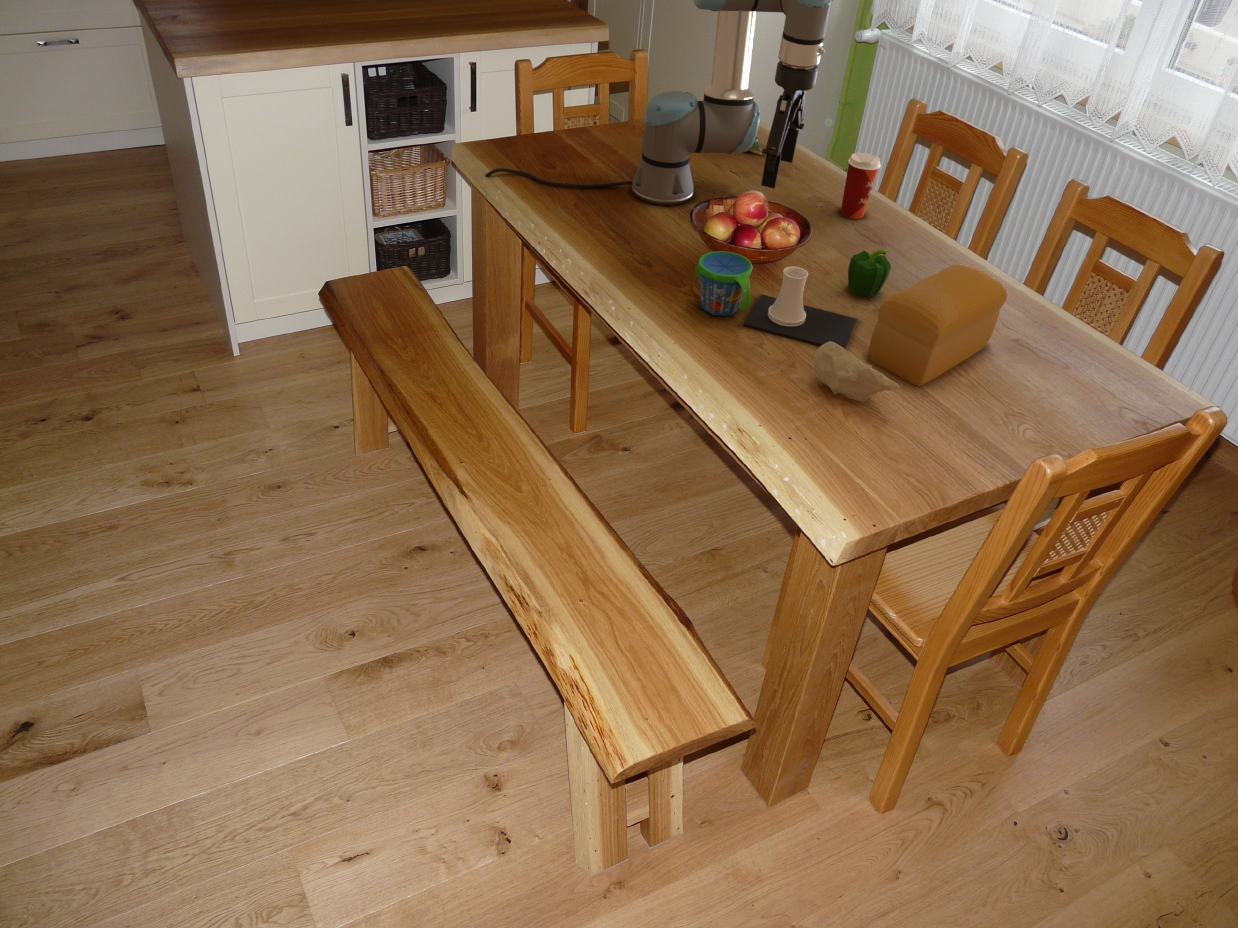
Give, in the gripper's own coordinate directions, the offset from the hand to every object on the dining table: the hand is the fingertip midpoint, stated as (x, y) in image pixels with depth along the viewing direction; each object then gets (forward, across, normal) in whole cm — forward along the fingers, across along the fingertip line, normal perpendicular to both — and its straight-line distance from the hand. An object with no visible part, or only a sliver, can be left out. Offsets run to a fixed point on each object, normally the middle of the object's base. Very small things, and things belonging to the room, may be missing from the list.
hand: (777, 173), depth 185 cm
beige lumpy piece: (+22, -34, -28) cm, 49 cm away
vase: (+22, -15, -10) cm, 29 cm away
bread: (+23, -13, -38) cm, 46 cm away
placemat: (+23, -15, -13) cm, 30 cm away
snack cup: (+23, -17, +3) cm, 29 cm away
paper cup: (+24, +42, -12) cm, 50 cm away
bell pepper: (+23, +4, -22) cm, 32 cm away
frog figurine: (+25, +69, +26) cm, 78 cm away
